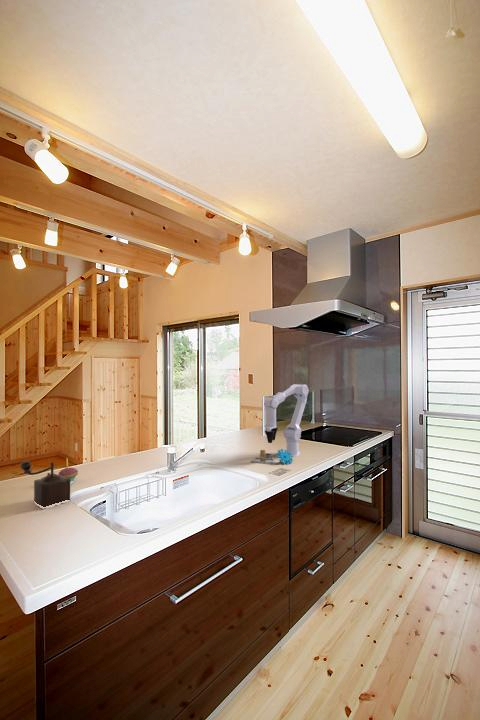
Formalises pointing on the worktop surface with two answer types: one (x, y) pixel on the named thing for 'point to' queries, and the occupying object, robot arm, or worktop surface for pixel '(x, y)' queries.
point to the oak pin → (262, 455)
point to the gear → (284, 456)
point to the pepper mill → (48, 486)
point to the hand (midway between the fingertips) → (271, 441)
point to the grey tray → (257, 460)
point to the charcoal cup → (269, 455)
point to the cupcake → (69, 472)
